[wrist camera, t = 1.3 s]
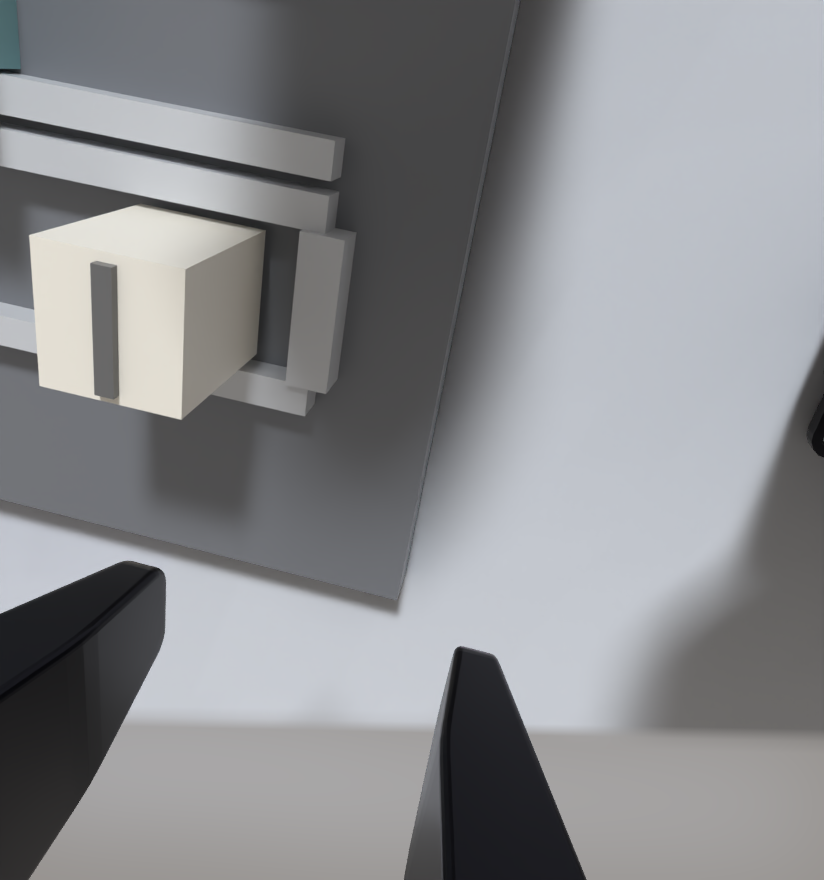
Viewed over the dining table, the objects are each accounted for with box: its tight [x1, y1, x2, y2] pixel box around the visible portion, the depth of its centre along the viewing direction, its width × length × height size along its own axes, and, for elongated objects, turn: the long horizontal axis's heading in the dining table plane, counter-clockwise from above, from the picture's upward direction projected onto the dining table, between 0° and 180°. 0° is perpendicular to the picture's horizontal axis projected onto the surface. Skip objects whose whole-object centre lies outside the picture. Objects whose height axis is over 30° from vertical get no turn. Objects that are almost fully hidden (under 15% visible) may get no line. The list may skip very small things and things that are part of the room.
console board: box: [0, 0, 520, 600], centre depth 17 cm, size 20×16×5 cm
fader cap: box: [29, 204, 266, 420], centre depth 16 cm, size 3×3×4 cm
